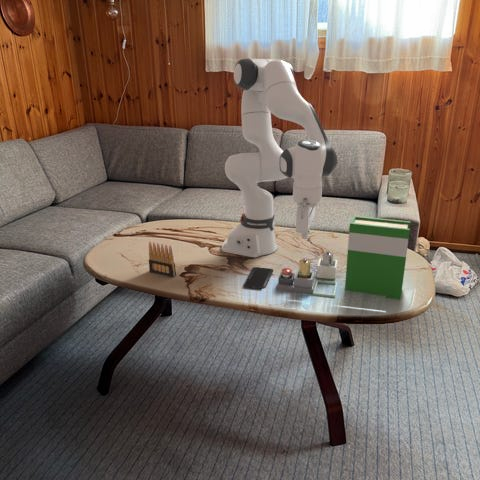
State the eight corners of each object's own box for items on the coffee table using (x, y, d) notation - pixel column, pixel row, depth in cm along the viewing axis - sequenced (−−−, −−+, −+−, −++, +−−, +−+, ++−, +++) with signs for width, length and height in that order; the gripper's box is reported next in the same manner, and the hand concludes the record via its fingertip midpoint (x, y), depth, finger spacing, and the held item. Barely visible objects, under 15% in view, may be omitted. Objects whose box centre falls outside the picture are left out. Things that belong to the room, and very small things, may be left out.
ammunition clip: (176, 275, 166) (173, 245, 161) (173, 277, 164) (170, 246, 160) (152, 269, 171) (149, 240, 166) (149, 271, 169) (146, 242, 164)
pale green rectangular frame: (312, 296, 150) (313, 292, 149) (316, 282, 158) (316, 279, 158) (334, 298, 148) (334, 295, 148) (337, 285, 156) (337, 282, 156)
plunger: (280, 280, 154) (280, 272, 153) (282, 276, 157) (282, 267, 156) (290, 281, 154) (290, 273, 152) (292, 277, 157) (292, 268, 155)
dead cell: (321, 276, 162) (322, 253, 158) (322, 271, 165) (323, 249, 162) (331, 277, 161) (333, 254, 157) (332, 272, 164) (334, 250, 161)
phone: (273, 269, 167) (264, 288, 154) (273, 271, 168) (264, 291, 154) (252, 266, 169) (242, 285, 156) (252, 269, 170) (242, 288, 156)
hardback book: (402, 289, 153) (410, 221, 144) (400, 299, 147) (409, 229, 137) (348, 281, 159) (353, 215, 150) (344, 291, 153) (349, 223, 143)
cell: (298, 284, 153) (298, 261, 150) (299, 279, 156) (300, 256, 153) (308, 285, 152) (309, 262, 149) (310, 281, 155) (311, 257, 152)
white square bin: (317, 278, 161) (317, 265, 159) (319, 270, 167) (319, 258, 165) (335, 280, 159) (335, 267, 158) (336, 272, 165) (337, 260, 163)
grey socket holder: (276, 290, 154) (277, 277, 152) (281, 280, 161) (281, 267, 159) (312, 295, 150) (313, 281, 149) (316, 283, 158) (316, 270, 156)
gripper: (313, 205, 132) (311, 249, 138) (321, 185, 150) (319, 225, 156) (291, 203, 134) (290, 247, 139) (302, 184, 152) (300, 224, 157)
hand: (305, 235), depth 148 cm, fingers open, 3 cm apart
